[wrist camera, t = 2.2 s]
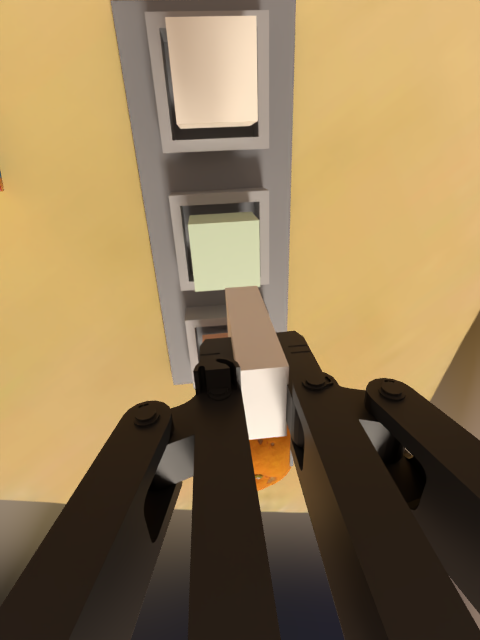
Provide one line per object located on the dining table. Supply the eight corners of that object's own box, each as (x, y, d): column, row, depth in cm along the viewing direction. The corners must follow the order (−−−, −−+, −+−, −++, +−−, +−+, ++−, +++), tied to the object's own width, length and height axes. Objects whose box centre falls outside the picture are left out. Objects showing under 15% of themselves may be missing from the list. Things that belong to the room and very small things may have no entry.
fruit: (252, 463, 47) (261, 519, 39) (191, 432, 43) (189, 487, 36) (303, 417, 44) (323, 468, 36) (243, 379, 40) (252, 428, 33)
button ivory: (180, 128, 24) (176, 124, 20) (171, 40, 21) (165, 17, 18) (249, 126, 24) (257, 120, 20) (247, 38, 22) (256, 15, 18)
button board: (174, 378, 39) (171, 402, 35) (114, 7, 24) (98, -21, 20) (283, 368, 40) (292, 390, 36) (291, 5, 25) (307, -22, 21)
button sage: (196, 274, 29) (195, 291, 25) (189, 215, 26) (187, 224, 23) (253, 270, 29) (260, 286, 25) (251, 211, 27) (259, 220, 23)
